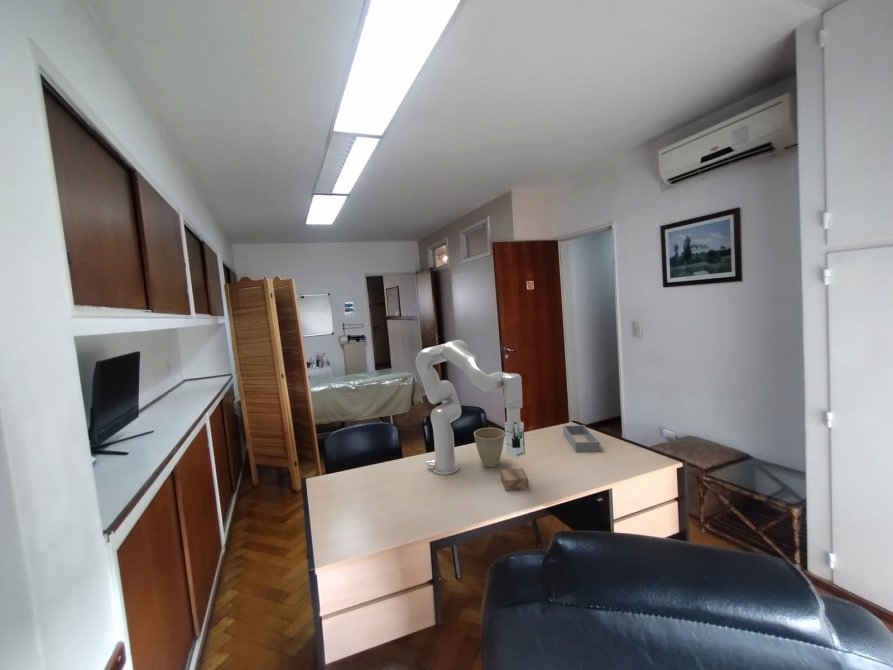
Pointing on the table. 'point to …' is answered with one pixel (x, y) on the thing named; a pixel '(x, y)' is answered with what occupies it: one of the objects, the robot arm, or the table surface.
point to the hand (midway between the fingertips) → (515, 443)
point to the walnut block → (514, 479)
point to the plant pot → (489, 445)
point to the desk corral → (581, 446)
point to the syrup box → (509, 449)
